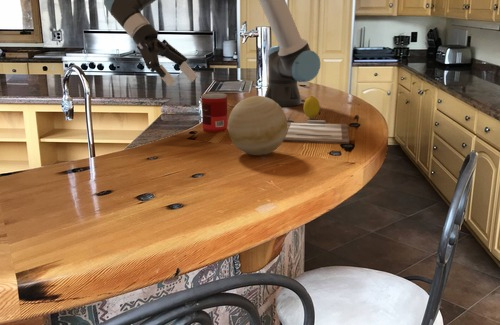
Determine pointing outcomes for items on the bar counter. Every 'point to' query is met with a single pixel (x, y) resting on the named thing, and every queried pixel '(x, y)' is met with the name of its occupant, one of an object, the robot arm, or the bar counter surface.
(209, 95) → the canned food
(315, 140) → the clipboard
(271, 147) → the decorative ball
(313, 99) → the lemon
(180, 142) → the bar counter surface
